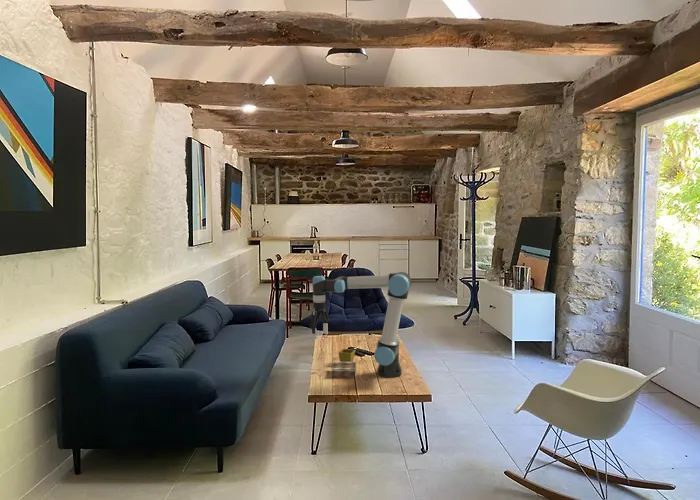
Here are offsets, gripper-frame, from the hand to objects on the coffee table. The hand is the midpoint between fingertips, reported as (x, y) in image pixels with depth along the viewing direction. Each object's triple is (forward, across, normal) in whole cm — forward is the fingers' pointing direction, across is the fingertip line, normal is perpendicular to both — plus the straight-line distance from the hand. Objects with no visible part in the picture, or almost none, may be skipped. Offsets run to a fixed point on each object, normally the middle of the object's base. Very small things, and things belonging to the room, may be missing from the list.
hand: (320, 336), depth 297 cm
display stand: (+25, -9, +11) cm, 29 cm away
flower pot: (+25, -27, +4) cm, 37 cm away
